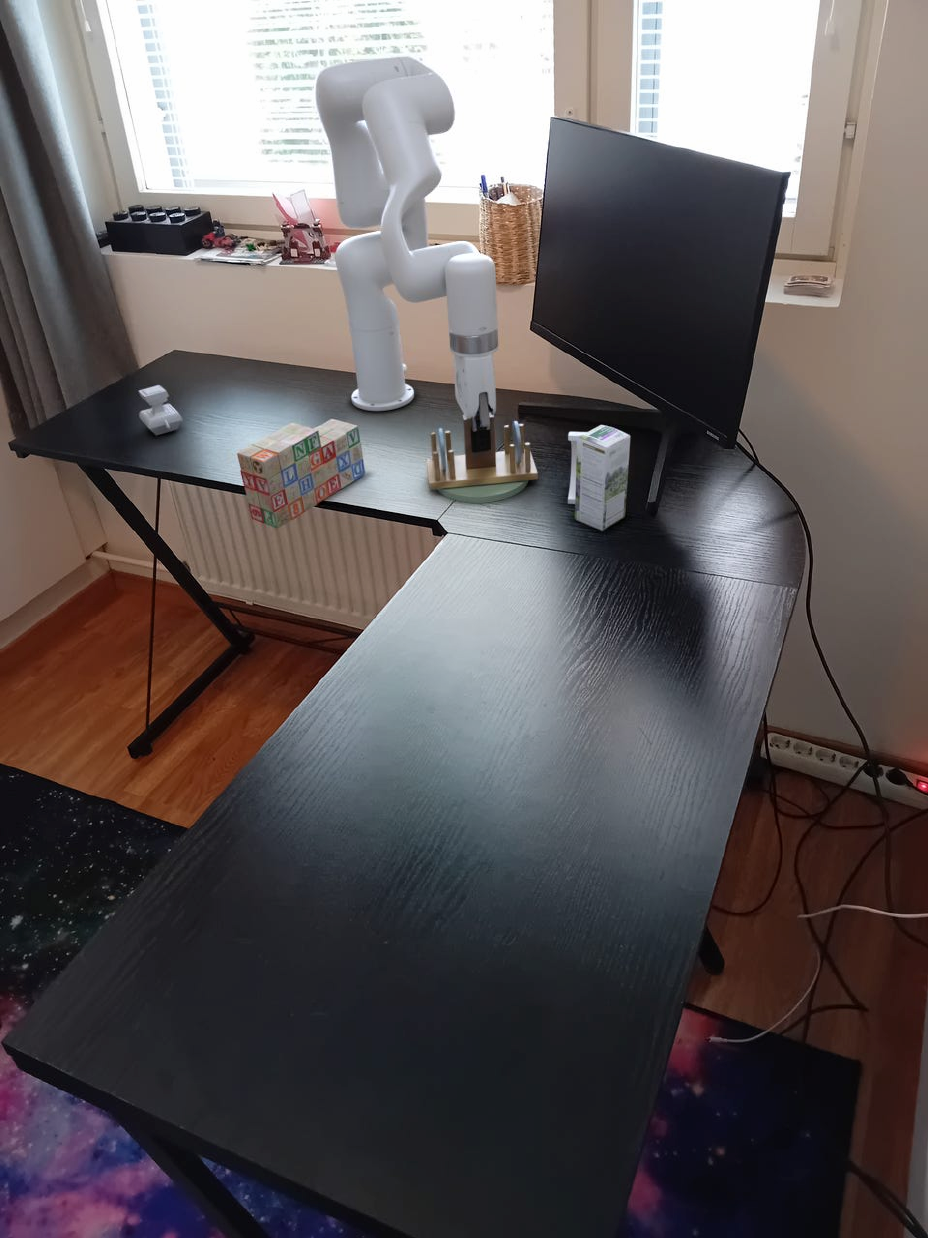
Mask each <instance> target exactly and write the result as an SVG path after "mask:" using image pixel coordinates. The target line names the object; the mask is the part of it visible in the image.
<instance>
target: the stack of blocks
mask: <svg viewBox="0 0 928 1238" xmlns="http://www.w3.org/2000/svg"><path fill="white" fill-rule="evenodd" d="M362 446H363V445H362V443H361V437H360V431H359V426H358V425H356V424H352V423H349V422H346V421H345V422H344V421H342V420H338V419H334V418H330V419H329V420H327V421H325V422H323V423H321V424H320V425H317V426H315V427H313V428H312V427H309V426H304V425H301V424H298V423H295V422H290V423H288V424H287V425H285V426H282V427H281V428H279V429H277V430H275V431H274V432H272V433H270V434H268V435H267V436H264V437H263V438H261V439H259V440H257V441H255V442H254V443H252V444H250V445H247V446H245V447H244V448H242V449H240V450H238V451H237V452H236V456H237V460H238V464H239V468H240V470H239V472H240V475H241V481H242V485H243V486H244V491H245V495H246V499H247V503H248V508H249V513H250V518H251V520H254V521H256V522H259V523H262V524H265V525H267V526H269V527H272V528H274V529H280V528H281V527H282V526H285V525H286V524H288V523H289V522H291V521H294V520H295V519H296V518H298V517H299V516H301V515H302V514H304V513H306V512H307V511H309V510H311V509H312V508H314V507H316V506H317V505H318V504H320V503H321V502H322V501H324V500H326V499H327V498H329V497H330V496H332V495H333V494H335V493H337V492H338V491H340V490H341V489H343V488H345V487H346V486H348V485H350V484H351V483H354V482H355V481H356V480H358V479H360V478H361V477H363V476H364V475H365V474H366V469H365V462H364V455H363V447H362Z"/></svg>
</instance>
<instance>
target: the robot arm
mask: <svg viewBox="0 0 928 1238" xmlns="http://www.w3.org/2000/svg"><path fill="white" fill-rule="evenodd" d="M451 90H452V89H451V88H450V86H449V84H448V83H447V81H446V80H445V79H444V77H443V76H442V75H440V73H438V72H437V71H436V70H434V68H432V67H430V66H428V65H426V64H425V63H423V62H422V61H420V60H418V59H417V58H414V57H412V56H408V55H398V56H389V57H379V58H373V59H362V60H353V61H347V62H341V63H337V64H336V63H335V64H332V65H329V66H327V67H325V68H323V69H321V71H319V73H317V75H316V77H315V80H314V84H313V99H314V106H315V109H316V114H317V117H318V119H319V122H320V124H321V128H322V129H323V132H324V134H325V138H326V140H327V143H328V148H329V153H330V160H331V161H330V162H331V168H332V177H333V185H334V192H335V201H336V206H337V207H336V208H337V212H338V215H339V218H340V220H341V222H342V223H343V225H344V226H346V227H347V228H350V229H356V230H359V229H368V228H373V227H378V226H380V230H379V231H378V230H377V231H373V232H368V233H367V232H366V233H364V234H358V235H354V236H351V237H349V238H346V239H345V240H343V241H342V242H341V243H340V244H339V245H338V246H337V247H336V251H335V255H334V261H335V266H336V267H335V268H336V270H337V274H338V277H339V281H340V283H341V287H342V292H343V295H344V300H345V305H346V311H347V318H348V324H349V332H350V339H351V348H352V353H353V363H354V369H355V377H356V383H357V385H356V386H357V388H356V389H355V390H353V392H352V393H351V397H350V398H351V403H352V405H353V406H354V407H356V408H358V409H360V410H363V411H369V412H386V411H392V410H396V409H399V408H402V407H405V406H406V405H408V404H410V403H411V402H412V401H413V399H414V398H415V390H414V388H413V387H412V386H411V385H410V384H407V383H406V378H405V375H406V372H407V371H408V366H407V365H406V364H405V363H404V357H403V350H402V349H403V348H402V338H401V328H400V320H399V311H398V307H397V306H396V304H395V303H394V301H393V300H392V299H391V298H390V297H389V296H388V295H386V293H385V292H384V290H383V289H384V288H386V287H390V286H393V285H394V287H395V289H396V291H397V293H398V294H399V295H400V296H401V298H402V299H404V300H405V301H407V302H408V303H413V304H414V303H415V304H416V303H422V302H427V301H431V300H436V299H439V298H444V297H446V307H447V322H448V333H449V334H448V336H449V337H448V338H449V349H450V350H449V351H450V353H451V354H452V355H453V356H454V357H453V363H454V365H453V366H454V367H453V369H454V370H453V371H454V396H455V400H456V402H457V404H458V406H459V407H460V410H461V412H462V413H463V415H465V416H466V417H467V418H469V419H470V418H471V417H472V429H470V432H471V448H472V452H473V453H476V452H482V451H489V450H491V435H490V416H489V412H490V413H491V415H495V414H496V412H497V392H496V379H495V378H496V377H495V365H494V355H493V354H494V353H496V352H497V351H498V350H499V330H498V301H497V300H498V299H497V276H496V273H497V272H496V265H495V262H494V260H493V259H492V258H491V257H490V256H489V255H486V254H483V253H481V252H480V251H479V250H478V248H477V247H476V246H475V245H474V244H472V243H471V242H469V241H467V240H459V241H458V240H457V241H453V242H448V243H444V244H437V245H432V246H429V233H428V218H427V217H428V216H427V204H426V197H428V196H429V195H430V194H431V193H432V192H433V191H434V190H435V189H436V188H437V187H438V186H439V184H440V182H441V179H442V176H443V174H442V169H441V166H440V163H439V160H438V158H437V154H436V152H435V150H434V147H433V144H432V141H431V138H430V136H434V135H441V134H444V133H447V132H448V131H449V130H451V129H452V127H453V125H454V123H455V120H456V104H455V103H456V102H455V98H454V95H453V93H452V91H451ZM477 417H480V419H477V421H476V418H477Z"/></svg>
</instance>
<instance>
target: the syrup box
mask: <svg viewBox="0 0 928 1238" xmlns="http://www.w3.org/2000/svg"><path fill="white" fill-rule="evenodd" d="M586 432H587V433H585V434H583V435H581V436H580V437H578V438H577V462H576V496H575V504H574V520H575V521H577V522H580V523H582V524H584V525H587V526H589V527H592V528H594V529H596V530H599V531H601V532H604V531H605V530H607V529H608V528H610V527H612V526H613V525H615V524H616V523H618V522H619V521H621V520H623V519H624V518H626V509H627V493H628V478H629V462H630V449H631V435H630V434H628V433H626V432H624V431H622V430H619V429H617V428H615V427H612V426H608V425H604V424H600V425H598V426H596V427H595V428H593V429H591V430H589V431H586Z"/></svg>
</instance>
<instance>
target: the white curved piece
mask: <svg viewBox="0 0 928 1238" xmlns="http://www.w3.org/2000/svg"><path fill="white" fill-rule="evenodd" d="M587 432H588V431H569V432H568V434H567V441H570V443H571V444H570V445H571V462H570V465H571V466H570V481H569V488H568V489H569V490H568V495H567V504H568V505H575V496H576V462H577V438H578V437H580V436H581V435H583V434H585V433H587Z"/></svg>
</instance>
